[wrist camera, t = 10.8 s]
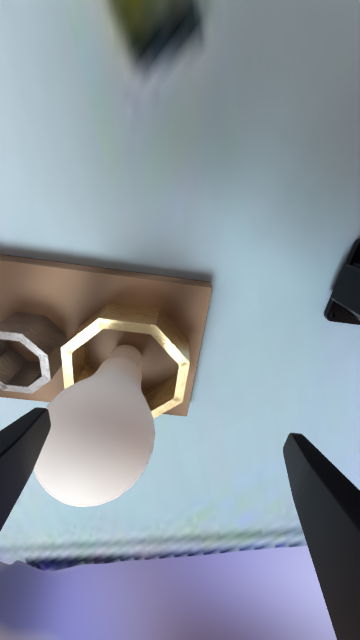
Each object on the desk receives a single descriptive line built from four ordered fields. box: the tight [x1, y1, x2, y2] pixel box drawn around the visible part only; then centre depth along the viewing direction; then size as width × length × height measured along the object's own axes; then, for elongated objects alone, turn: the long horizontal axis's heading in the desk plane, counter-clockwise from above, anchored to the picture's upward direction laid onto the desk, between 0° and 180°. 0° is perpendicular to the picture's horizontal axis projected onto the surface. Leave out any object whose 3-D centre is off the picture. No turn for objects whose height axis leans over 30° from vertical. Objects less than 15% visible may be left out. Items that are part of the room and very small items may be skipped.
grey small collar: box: [0, 312, 67, 394], centre depth 18 cm, size 5×5×3 cm
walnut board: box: [0, 254, 212, 416], centre depth 21 cm, size 18×13×2 cm
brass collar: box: [61, 301, 190, 419], centre depth 19 cm, size 9×9×3 cm
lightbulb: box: [34, 345, 155, 507], centre depth 15 cm, size 6×6×11 cm
